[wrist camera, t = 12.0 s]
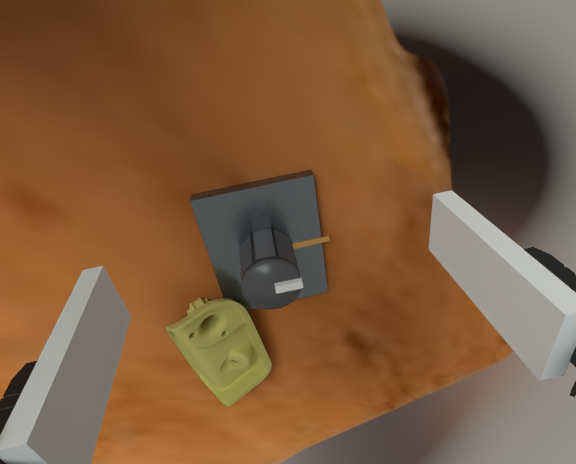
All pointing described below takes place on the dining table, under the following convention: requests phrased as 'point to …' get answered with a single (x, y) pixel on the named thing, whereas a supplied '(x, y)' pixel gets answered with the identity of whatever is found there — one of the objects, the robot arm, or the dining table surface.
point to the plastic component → (222, 347)
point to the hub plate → (262, 228)
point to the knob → (269, 270)
